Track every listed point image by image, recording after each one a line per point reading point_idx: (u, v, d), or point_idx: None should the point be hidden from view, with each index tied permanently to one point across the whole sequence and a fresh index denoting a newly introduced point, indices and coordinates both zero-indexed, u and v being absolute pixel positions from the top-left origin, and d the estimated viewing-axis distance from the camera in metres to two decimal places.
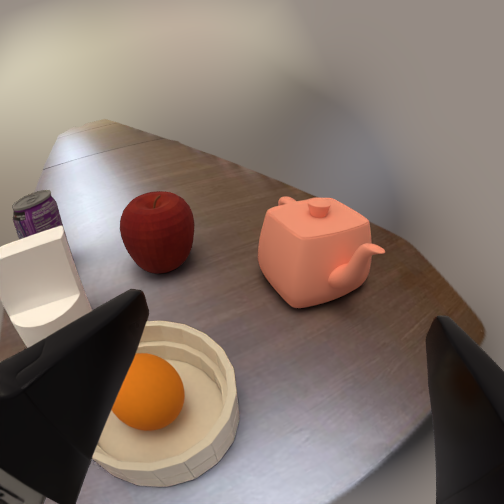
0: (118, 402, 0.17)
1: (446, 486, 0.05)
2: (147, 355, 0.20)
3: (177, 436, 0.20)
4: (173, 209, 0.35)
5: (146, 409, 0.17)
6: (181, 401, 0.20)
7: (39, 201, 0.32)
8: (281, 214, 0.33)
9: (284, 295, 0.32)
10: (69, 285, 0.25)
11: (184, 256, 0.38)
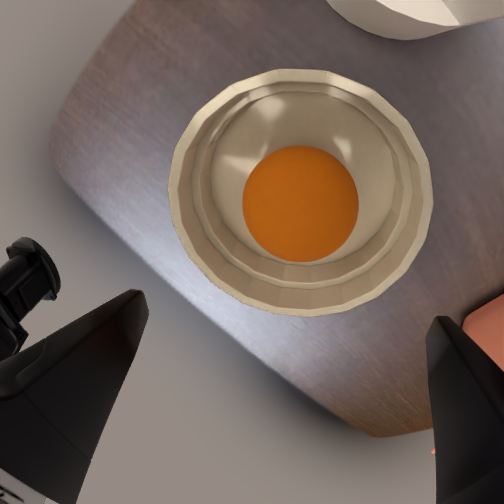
0: (249, 206, 0.14)
1: (446, 486, 0.05)
2: (337, 230, 0.14)
3: None
4: None
5: (256, 240, 0.16)
6: None
7: None
8: None
9: (479, 316, 0.19)
10: (461, 6, 0.06)
11: None
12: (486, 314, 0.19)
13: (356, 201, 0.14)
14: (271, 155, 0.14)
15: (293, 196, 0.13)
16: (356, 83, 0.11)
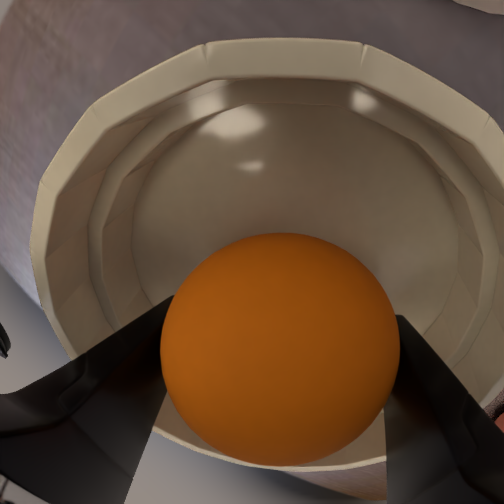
0: (165, 381, 0.06)
1: (396, 493, 0.05)
2: (348, 442, 0.05)
3: None
4: None
5: None
6: None
7: None
8: None
9: None
10: None
11: None
12: None
13: (396, 371, 0.06)
14: (210, 271, 0.06)
15: (248, 411, 0.05)
16: (450, 91, 0.03)
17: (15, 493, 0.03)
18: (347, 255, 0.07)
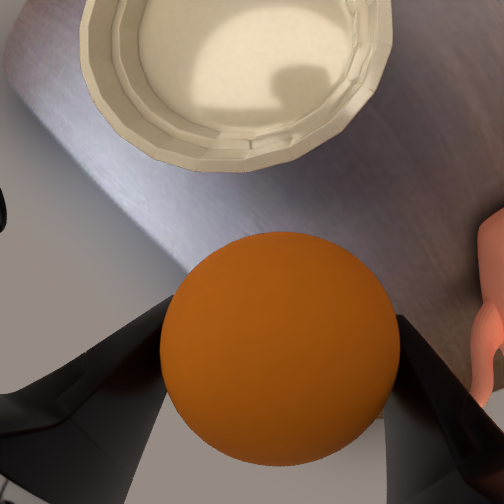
0: (164, 381, 0.06)
1: (396, 493, 0.05)
2: (348, 442, 0.05)
3: (206, 76, 0.14)
4: None
5: None
6: None
7: None
8: None
9: (499, 218, 0.13)
10: None
11: None
12: None
13: (396, 370, 0.06)
14: (209, 270, 0.06)
15: (248, 410, 0.05)
16: None
17: (15, 493, 0.03)
18: (347, 254, 0.07)
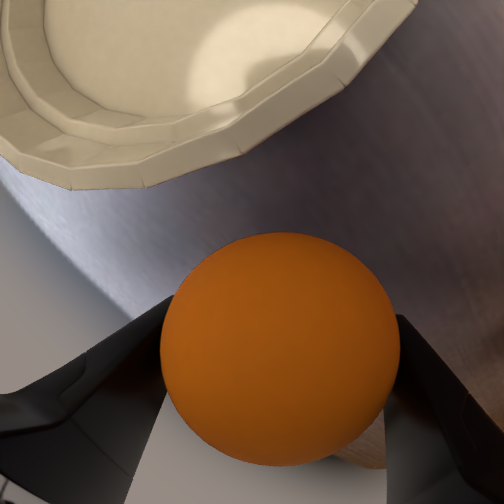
0: (165, 381, 0.06)
1: (397, 493, 0.05)
2: (348, 442, 0.05)
3: (122, 34, 0.08)
4: None
5: None
6: None
7: None
8: None
9: None
10: None
11: None
12: None
13: (396, 370, 0.06)
14: (210, 271, 0.06)
15: (248, 411, 0.05)
16: None
17: (15, 493, 0.03)
18: (347, 255, 0.07)
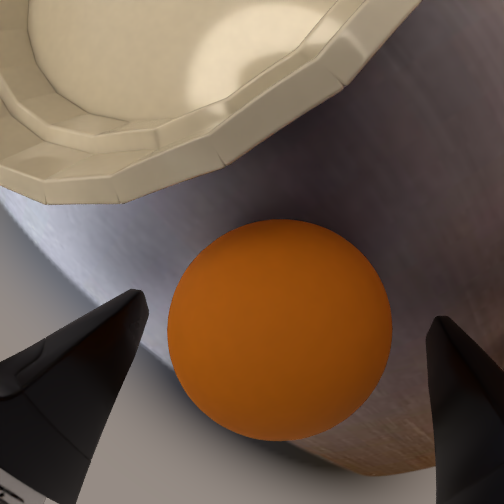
0: (172, 357, 0.07)
1: (446, 486, 0.05)
2: (344, 415, 0.06)
3: (106, 33, 0.07)
4: None
5: None
6: None
7: None
8: None
9: None
10: None
11: None
12: None
13: (389, 347, 0.07)
14: (215, 252, 0.07)
15: (250, 378, 0.05)
16: None
17: None
18: (341, 239, 0.07)
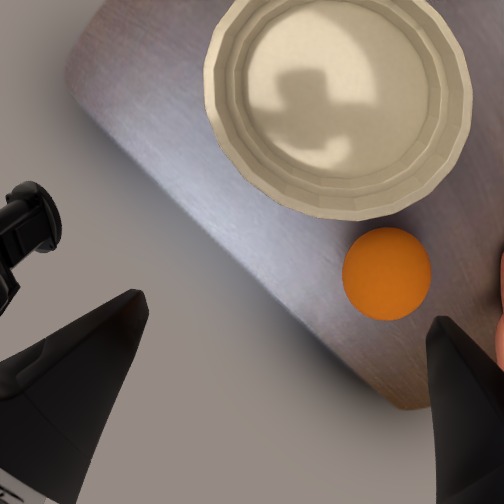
0: (356, 282, 0.17)
1: (446, 486, 0.05)
2: (419, 301, 0.16)
3: (309, 127, 0.17)
4: None
5: (354, 305, 0.19)
6: None
7: None
8: None
9: None
10: None
11: None
12: None
13: None
14: (373, 239, 0.17)
15: (395, 280, 0.16)
16: None
17: None
18: (412, 235, 0.18)
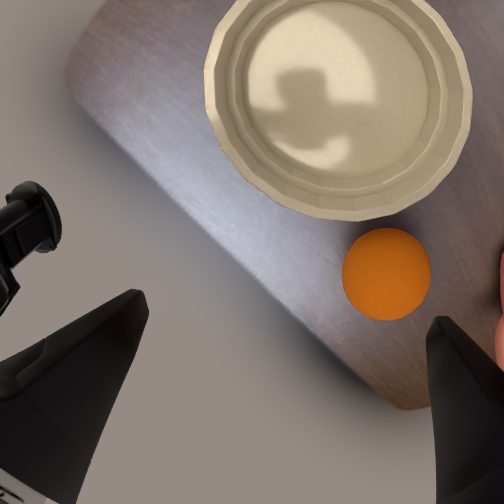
0: (355, 282, 0.17)
1: (446, 486, 0.05)
2: (418, 301, 0.16)
3: (309, 127, 0.17)
4: None
5: (354, 305, 0.19)
6: None
7: None
8: None
9: None
10: None
11: None
12: None
13: (430, 276, 0.17)
14: (373, 240, 0.17)
15: (395, 281, 0.16)
16: None
17: None
18: None
